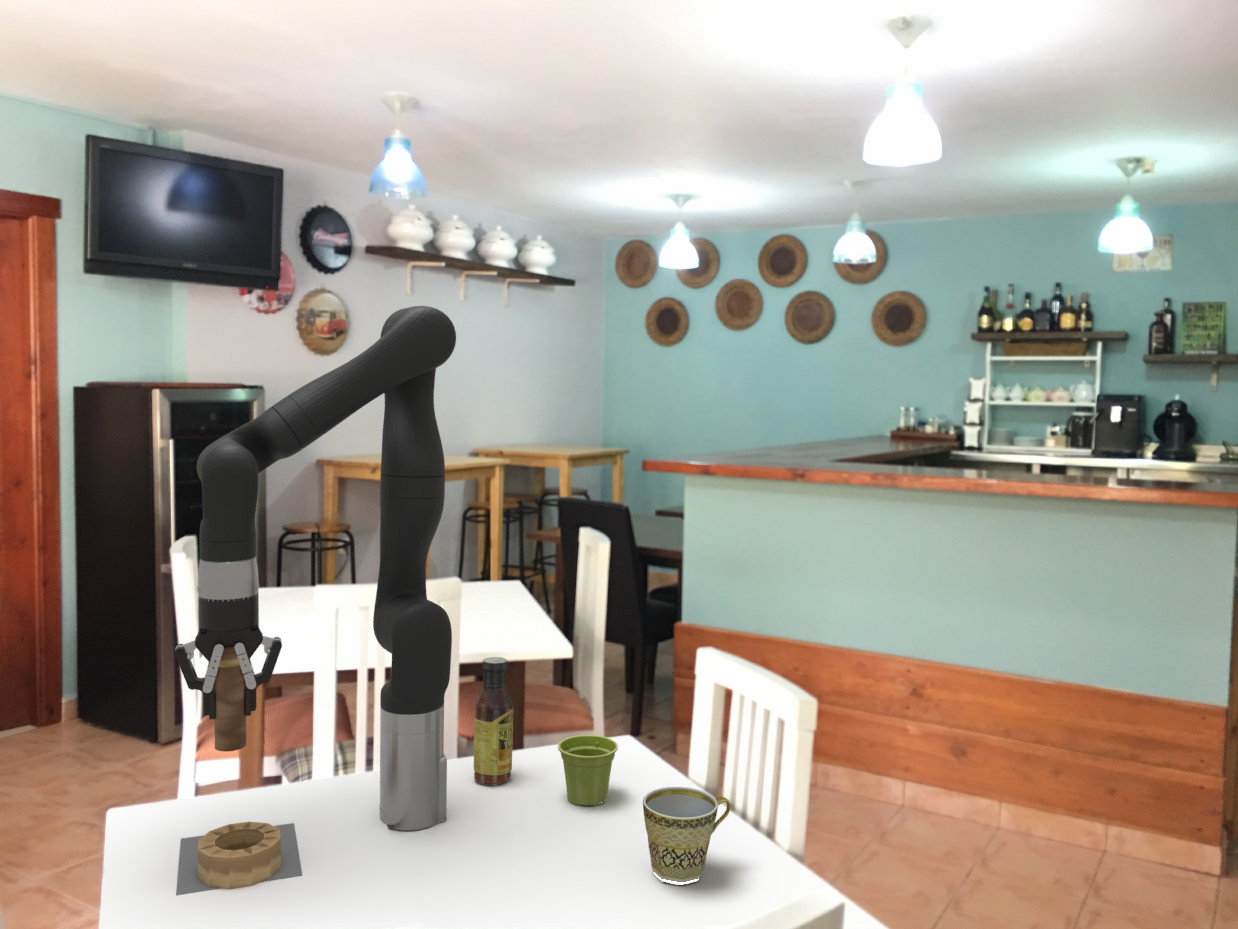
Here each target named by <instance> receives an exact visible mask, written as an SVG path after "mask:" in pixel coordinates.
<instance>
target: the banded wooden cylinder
mask: <svg viewBox="0 0 1238 929" xmlns="http://www.w3.org/2000/svg"><path fill="white" fill-rule="evenodd" d="M243 659H244V658H243ZM215 661H216V660H215ZM213 688H214V693H215V719H213V720H214V749H215V750H216V751H217V752H218V751H219V752H225V753H226V752H234V751H238V750H242V749H244V748H245V747H247V716H246V698H245V689H246V682H245V678H244V675H243V673H242V670H241V667H240V663H239V659H238V657H237V654H236V651H235V647H225V648H224V650H223V653H222V657H221V660H220V664H219V667H218V671H217V675H216V678H215V681H214V685H213Z"/></svg>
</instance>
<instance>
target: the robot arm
mask: <svg viewBox="0 0 1238 929" xmlns="http://www.w3.org/2000/svg"><path fill="white" fill-rule="evenodd" d="M456 342H457V332H456V329H455V326H454V323H453V321H452V320H451V318H450V317H449V316H448V315H447V314H445V313H444V311H442V310H440V309H438V308H436V307H432V306H428V305H415V306H410V307H408V306H407V307H404V308H400V309H398V310H395V312H393V313H391V314H390V315H389V316H388V318H387V319H386V320H385V321H384V323H383V326H382V327H381V331H380V336H379V339H378V340H376V342H375V343H373V344H372V345H370V346H369V347H368V348H367V349H366V350H364V351H362V352H361V353H360V354H358V355H356V356H355V357H353V358H352V359H350V360H349V361H347V362H346V363H344V364H341V365H340V366H337V367H336V368H334V369H332V370H331V371H328V372H326V373H325V374H322V375H321V376H319V377H317V378H315V379H314V380H312V381H310V382H308V383H306V384H304V385H303V386H301V387H299V388H298V389H296V390H294V391H292V392H291V393H289V394H288V395H287V396H285V397H284V398H282V399H281V400H279V401H278V402H275V404H273V405H272V406H270V407H269V408H267V409H266V410H264V411H262V413H260V415H258V416H257V417H255V418H254V419H252V420H251V421H248V422H246V423H244V424H243V425H240V426H239V427H237V428H235V429H233V430H232V431H230V432H228V433H226V434H224V435H222V436H220V437H219V438H217V439H216V440H215V441H213V442H211V443H210V444H209V445H207V446H206V447H205V448H204V449H203V450H202V452H201V453H200V454H199V456H198V457H197V458H198V459H197V461H196V473H197V477H198V479H199V480H200V482H201V499H202V519H201V521H200V526H199V535H198V536H199V566H198V572H197V574H198V575H197V588H196V589H197V590H196V591H197V593H198V594H197V602H198V603H197V604H198V607H197V608H198V609H197V610H198V632H197V634H196V635H195V639H194V640H192V641H189V642H186V643H184V644H183V643H178V644H177V645H176V646H175V648H174V656H175V658H176V661H177V663H178V666H179V669H180V670H181V673H182V676H183V678H184V680H185V683H186V685H187V687H188V689H189V690H191V691H194V690H197V691H200V692H201V693H202V695H203V696H202V697H203V698H202V700H203V711H202V712H203V715H204V716H208V720H214V719H215V693H214V681H215V678H216V675H217V671H218V667H219V664H220V660H221V657H222V653H223V650H224V648H225V647H235V651H236V654H237V657H238V659H239V663H240V667H241V670H242V673H243V675H244V678H245V682H246V689H245V698H246V717H249V716H250V717H251V716H252V712H256V709H257V689H258V687H259V686H261V685H263V684H268V683H269V682H270V681H271V678H272V676H273V672H274V670H275V669H276V664H277V662H278V659H279V656H280V652H281V651H282V648H283V643H282V639H281V637H280V636H275V637H269V636H266V635H263V632H262V631H261V629H260V618H259V617H260V616H259V615H260V612H259V610H260V607H259V606H260V604H259V603H260V602H259V599H260V598H259V594H260V593H259V589H260V583H259V569H258V562H257V532H256V522H255V521H256V512H257V503H258V497H259V496H258V495H259V494H258V493H259V474H260V473H261V472H263V471H265V470H266V469H267V468H269V467H270V466H272V465H274V464H275V463H276V462H278V461H280V460H284V459H288V458H290V457H292V456H294V455H296V454H298V453H299V452H301V451H302V450H303V449H305V448H307V447H308V446H309V445H311V444H312V443H314V442H315V441H317V440H319V438H321V437H323V436H324V435H325V434H327V433H328V432H329V431H331V430H332V429H334V428H335V427H336V426H339V424H341V423H342V422H344V421H345V420H346V419H348V418H349V417H350V416H352V415H354V414H355V413H356V412H358V411H360V409H362V408H363V407H365V406H366V405H368V404H369V403H371V402H372V401H373V400H376V399H377V398H378V397H380V396H382V395H384V412H383V425H382V438H381V458H380V460H381V462H380V476H379V477H380V481H379V482H380V483H379V484H380V486H379V487H380V489H379V490H380V491H379V503H380V504H379V506H380V507H379V508H380V511H379V512H380V514H379V515H380V516H379V517H380V518H379V569H378V577H377V578H378V579H377V585H376V595H375V600H374V602H375V603H374V610H373V620H372V626H373V633H374V637H375V640H376V641H377V643H378V644H379V645H380V647H381V648H382V649H384V650H385V651H387V652H388V653H390V654H391V667H390V668H391V669H390V670H391V672H390V680H389V681H388V682H385V683H384V684H383V685H382V687H381V690H380V698H379V699H380V704H379V706H380V709H379V710H380V714H379V715H380V716H379V718H380V719H379V722H380V724H379V727H380V728H379V729H380V730H379V737H380V738H379V740H380V741H379V820H380V821H381V822H382V823H383V824H384V825H386V827H387V828H389V829H393V830H398V831H415V830H422V829H426V828H429V827H431V826H434V825H435V824H438V823H440V822H445V821H447V791H448V790H447V787H448V786H447V785H448V784H447V782H448V781H447V780H448V778H447V777H448V776H447V775H448V758H447V757H446V755H445V753H444V752H445V751H444V747H445V744H444V742H445V739H444V738H445V737H444V735H445V732H444V731H445V694H446V692H447V689H448V687H449V684H450V678H451V666H452V665H451V662H452V649H453V648H452V645H453V633H452V624H451V620H450V617H449V616H450V615H449V614H448V613H447V612H446V610H445V609H444V608H443V607H441V605H439V604H438V603H435V602H434V601H431V600H429V599H428V597H427V596H428V595H427V594H428V593H427V560H428V555H429V550H430V549H431V548H430V547H431V545H432V542H433V539H434V538H435V536H436V535H435V534H436V532H437V530H438V527H439V525H440V523H441V519H442V515H443V513H444V512H443V511H444V508H445V491H446V489H445V488H446V466H445V465H446V464H445V463H446V462H445V454H444V449H443V444H442V443H443V442H442V439H441V435H440V431H439V427H438V421H437V418H436V411H435V382H436V372H437V368H439V367H441V366H442V365H443V364H445V363H446V362H447V361H448V360H449V359H450V358H451V356H452V354H453V352H454V351H455V348H456V344H457V343H456ZM261 645H263V651H264V653H265V654H266V658H265V660H264V663H263V666H262V669H261V671H260V672H258V673H255V672H254V667H253V664H252V660H251V658H252V656H253V655H254V654H255V652H256V651H257V650H258V648H259V647H260V646H261ZM196 649H197V650H198V652H200V653H201V655H202V656H203V657H204V658H205V659H206V661H208V664H207V666H206V672H205V675H204V678H202V677H198V675H197V671H196V669H195V668H194V664H193V661H192V660H193V658H195V657H194V656H195V650H196ZM243 658H244V659H243ZM215 660H216V661H215Z"/></svg>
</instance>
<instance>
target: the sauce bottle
mask: <svg viewBox="0 0 1238 929" xmlns="http://www.w3.org/2000/svg"><path fill="white" fill-rule="evenodd" d="M508 662H509V661H508V659H507V658H505V657H501V656H500V657H499V656H492V657H485V658H483V659H482V669H483V681H482V686H483V687H482V689H481V690H480V692H479V693H478V695H477V698H476V701H475V715H474V727H473V730H474V733H473V734H474V735H473V738H474V739H473V770H474V774H473V775H474V776H473V777H474V780H475V781H476V782H477V783H478V784H480V785H481V784H482V785H487V786H494V785H501V784H504V783H507V782H509V781H510V779H511V774H512V773H511V772H512V770H513V738H514V735H513V734H514V705H513V703H512V699H511V696H510V693H509V690H508V686H507V685H508V684H507V669H508V667H509V665H508Z"/></svg>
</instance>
